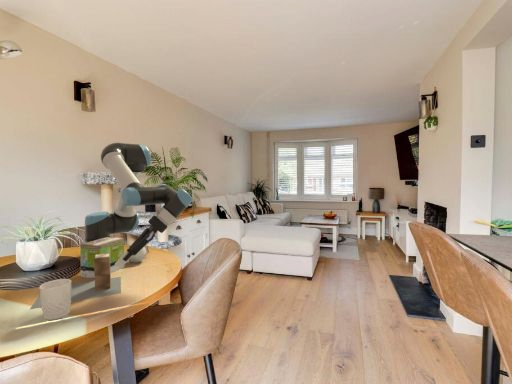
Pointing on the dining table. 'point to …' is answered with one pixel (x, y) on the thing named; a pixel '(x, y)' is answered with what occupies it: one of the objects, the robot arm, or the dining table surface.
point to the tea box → (100, 247)
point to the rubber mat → (88, 291)
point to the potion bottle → (139, 255)
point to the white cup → (55, 298)
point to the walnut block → (102, 272)
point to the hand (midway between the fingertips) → (117, 266)
